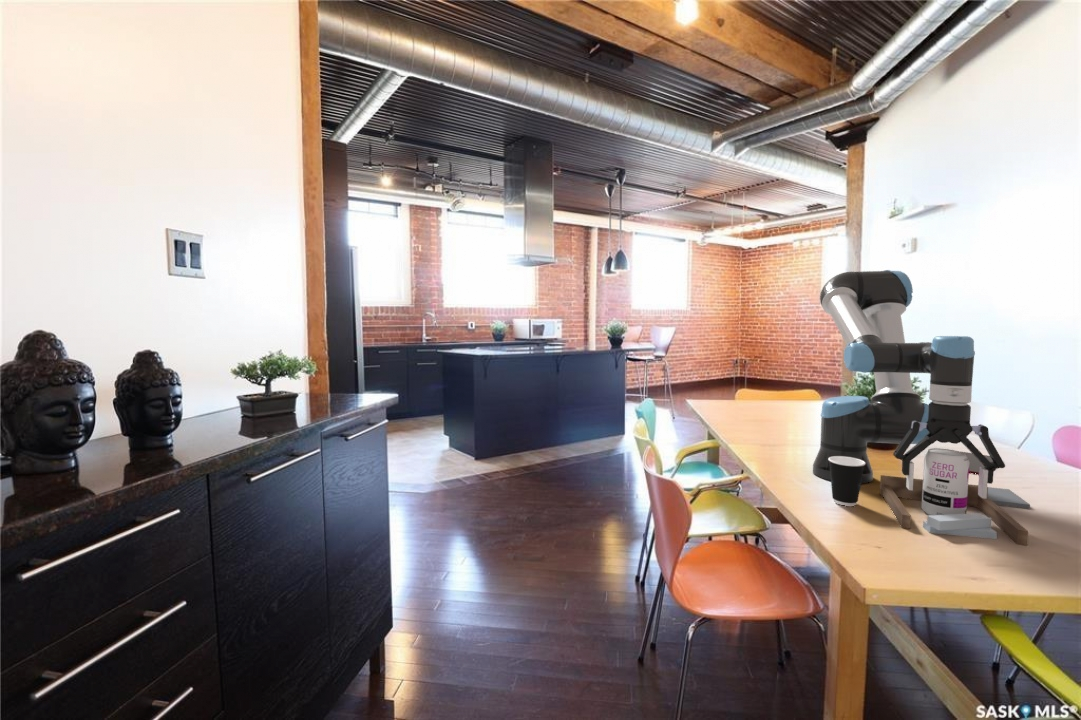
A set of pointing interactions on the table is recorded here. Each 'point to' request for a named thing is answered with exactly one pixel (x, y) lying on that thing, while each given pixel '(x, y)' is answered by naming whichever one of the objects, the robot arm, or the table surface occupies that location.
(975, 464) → the smartphone
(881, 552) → the table surface
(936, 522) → the offcut upper
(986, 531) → the offcut lower
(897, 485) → the rack
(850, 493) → the dixie cup
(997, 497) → the pad
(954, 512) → the supplement can
